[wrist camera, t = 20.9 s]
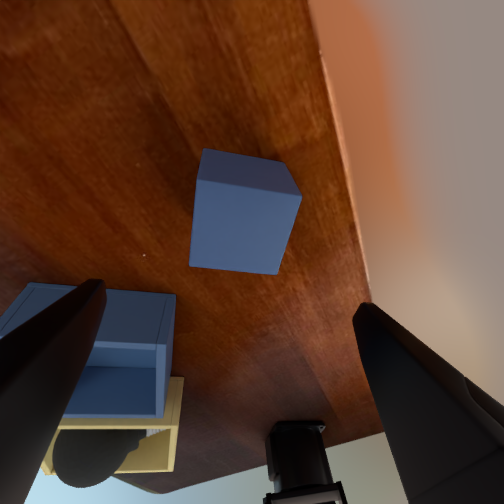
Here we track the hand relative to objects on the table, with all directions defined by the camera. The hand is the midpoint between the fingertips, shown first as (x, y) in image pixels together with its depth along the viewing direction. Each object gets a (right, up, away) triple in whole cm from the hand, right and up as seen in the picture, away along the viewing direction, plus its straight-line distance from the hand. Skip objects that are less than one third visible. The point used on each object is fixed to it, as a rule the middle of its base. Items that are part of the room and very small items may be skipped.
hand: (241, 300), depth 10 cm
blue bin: (-11, -5, +13) cm, 18 cm away
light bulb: (-13, -14, +19) cm, 27 cm away
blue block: (0, +5, +7) cm, 8 cm away
